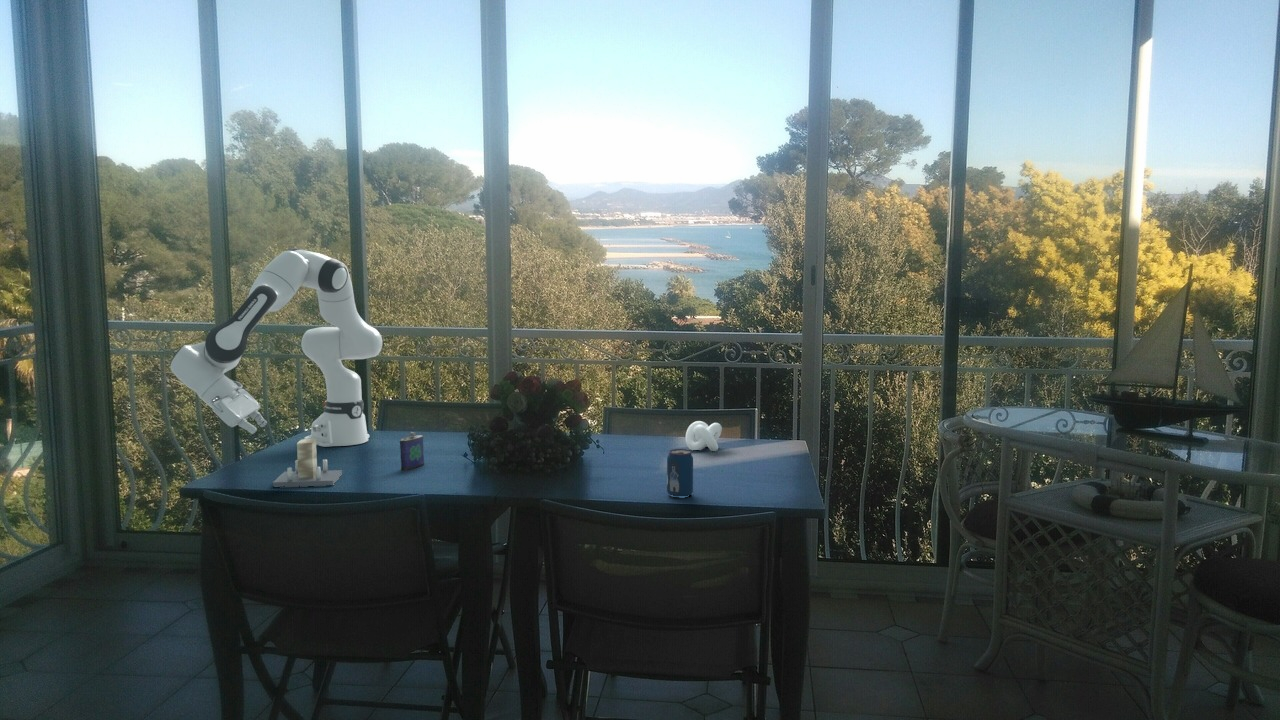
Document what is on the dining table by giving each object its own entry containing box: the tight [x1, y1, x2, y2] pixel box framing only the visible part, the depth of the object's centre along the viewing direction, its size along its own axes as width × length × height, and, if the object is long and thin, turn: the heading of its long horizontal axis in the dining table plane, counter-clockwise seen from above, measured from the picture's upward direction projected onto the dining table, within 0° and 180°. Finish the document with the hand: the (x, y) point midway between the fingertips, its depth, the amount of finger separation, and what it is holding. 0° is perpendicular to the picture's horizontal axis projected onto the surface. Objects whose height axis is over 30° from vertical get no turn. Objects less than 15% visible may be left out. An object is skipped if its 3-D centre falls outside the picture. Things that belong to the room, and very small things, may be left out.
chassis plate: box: [272, 459, 343, 488], centre depth 260 cm, size 16×12×5 cm
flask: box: [399, 431, 425, 471], centre depth 276 cm, size 9×3×11 cm, turn 152°
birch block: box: [296, 438, 318, 478], centre depth 260 cm, size 4×5×10 cm
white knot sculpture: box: [685, 420, 723, 452], centre depth 299 cm, size 11×12×9 cm
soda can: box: [666, 448, 694, 496], centre depth 245 cm, size 7×7×12 cm
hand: (260, 428), depth 257 cm, fingers open, 8 cm apart
